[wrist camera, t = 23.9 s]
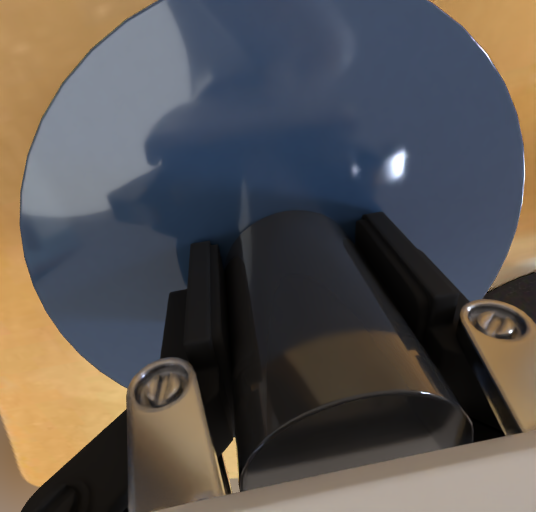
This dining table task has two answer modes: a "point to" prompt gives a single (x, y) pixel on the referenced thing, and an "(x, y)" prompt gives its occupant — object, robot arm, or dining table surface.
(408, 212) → the lid
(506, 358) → the robot arm
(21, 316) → the dining table surface
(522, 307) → the dark slate chunk
